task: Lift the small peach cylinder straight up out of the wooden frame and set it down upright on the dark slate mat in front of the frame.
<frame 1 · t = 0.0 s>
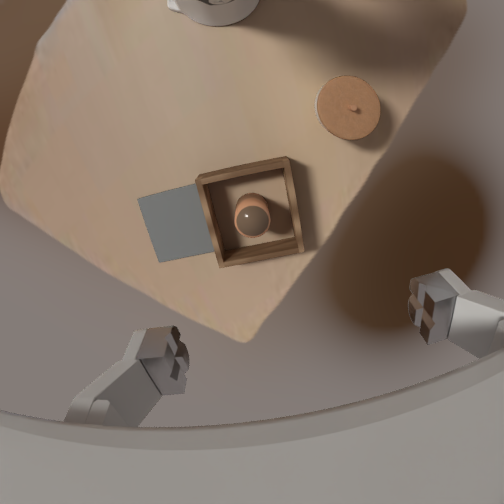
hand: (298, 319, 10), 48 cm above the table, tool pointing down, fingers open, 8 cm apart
lidded jar: (336, 107, 50), on the table
wooden frame: (251, 208, 58), on the table
slate mat: (176, 224, 59), on the table
peach cylinder: (252, 214, 55), in the wooden frame
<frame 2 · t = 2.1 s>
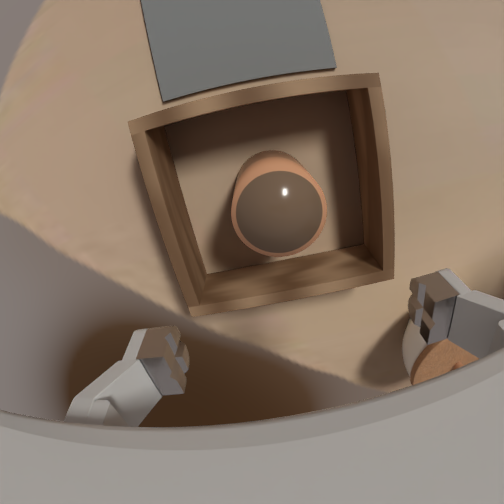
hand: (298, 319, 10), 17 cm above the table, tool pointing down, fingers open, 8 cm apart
lidded jar: (427, 319, 33), on the table
wooden frame: (272, 185, 25), on the table
slate mat: (233, 14, 19), on the table
peach cylinder: (275, 197, 22), in the wooden frame
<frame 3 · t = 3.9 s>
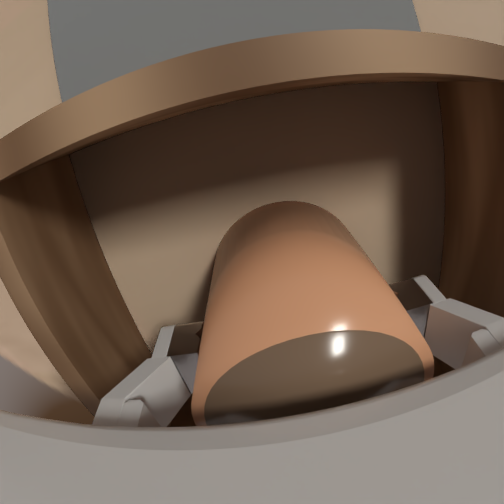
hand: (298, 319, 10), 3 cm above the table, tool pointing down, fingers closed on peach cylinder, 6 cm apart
wooden frame: (287, 271, 13), on the table
peach cylinder: (300, 325, 10), in the wooden frame, touching gripper
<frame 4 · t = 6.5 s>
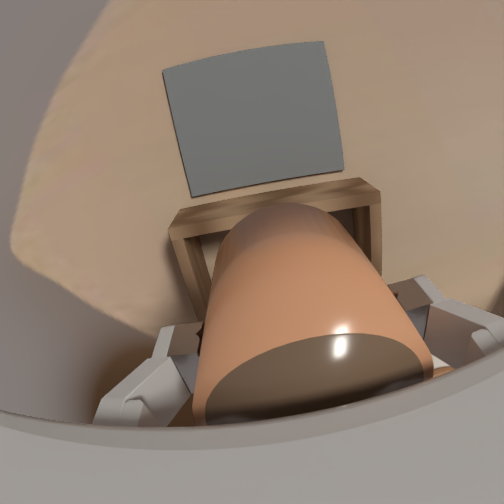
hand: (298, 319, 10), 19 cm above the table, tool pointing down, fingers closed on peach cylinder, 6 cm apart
wooden frame: (283, 268, 31), on the table
slate mat: (256, 115, 25), on the table
peach cylinder: (300, 327, 10), point 20 cm above the table, touching gripper
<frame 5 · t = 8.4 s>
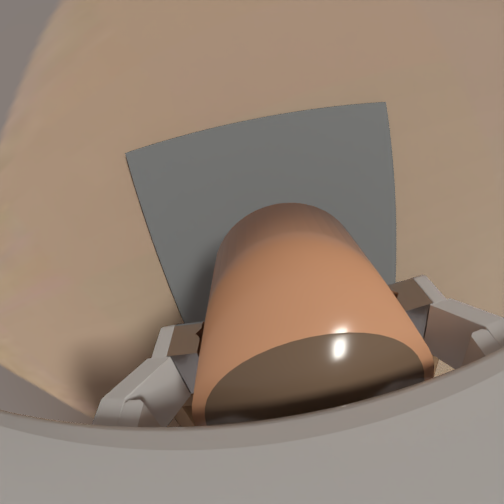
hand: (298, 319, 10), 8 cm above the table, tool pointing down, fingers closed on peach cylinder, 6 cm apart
wooden frame: (305, 394, 24), on the table
slate mat: (277, 226, 17), on the table
peach cylinder: (300, 326, 10), point 8 cm above the table, touching gripper
when the fingers open (5 cm above the table, at t = 9.6 s): peach cylinder drops 1 cm, resting on slate mat.
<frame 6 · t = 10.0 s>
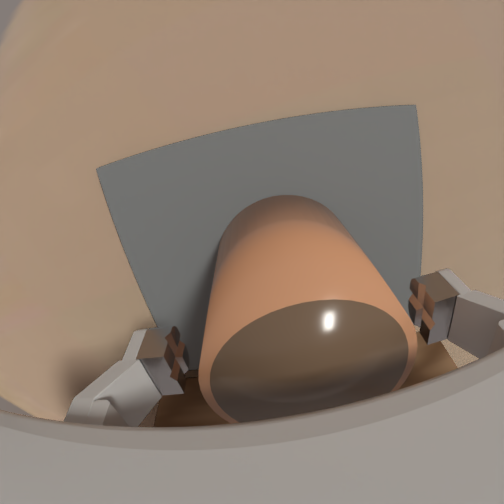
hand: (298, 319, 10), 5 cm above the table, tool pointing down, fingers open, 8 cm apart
wooden frame: (310, 428, 21), on the table
slate mat: (282, 256, 14), on the table
peach cylinder: (296, 306, 11), resting on slate mat
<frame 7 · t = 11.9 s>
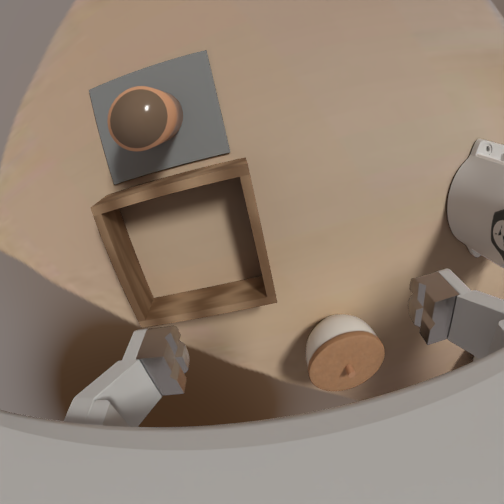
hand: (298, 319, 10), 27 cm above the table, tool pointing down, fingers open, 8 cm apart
lidded jar: (333, 329, 45), on the table
wooden frame: (190, 239, 37), on the table
slate mat: (156, 117, 31), on the table
peach cylinder: (148, 117, 27), resting on slate mat
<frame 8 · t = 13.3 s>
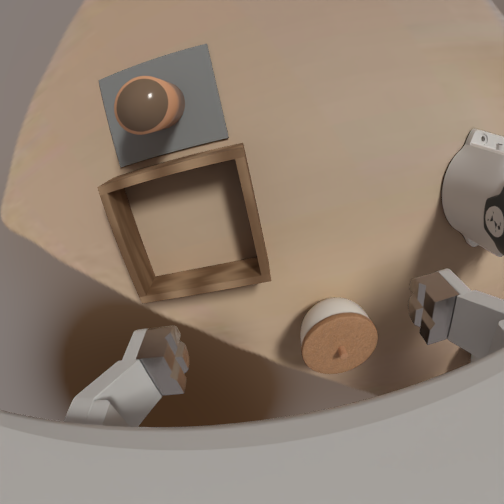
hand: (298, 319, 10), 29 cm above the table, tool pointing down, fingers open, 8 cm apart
lidded jar: (328, 313, 46), on the table
wooden frame: (191, 219, 39), on the table
slate mat: (160, 105, 33), on the table
peach cylinder: (151, 105, 29), resting on slate mat
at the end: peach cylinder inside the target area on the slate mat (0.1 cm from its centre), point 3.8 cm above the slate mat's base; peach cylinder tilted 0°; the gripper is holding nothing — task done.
